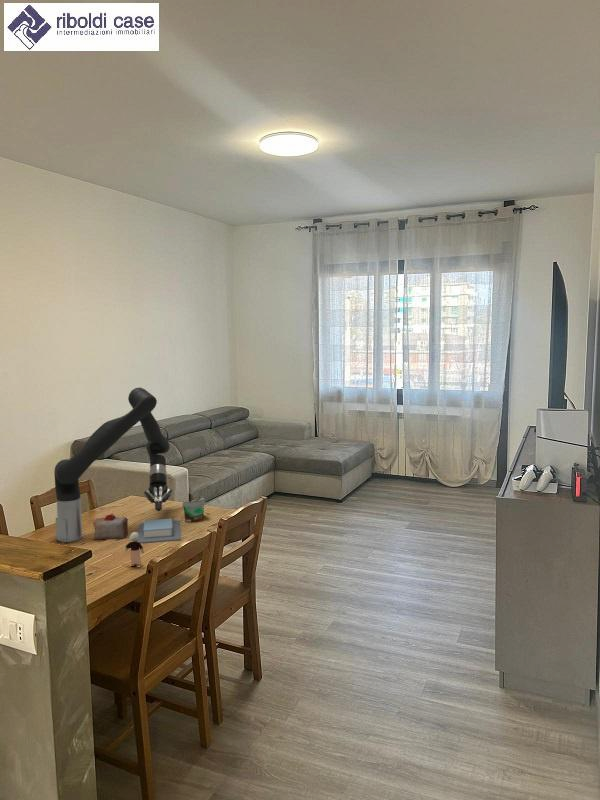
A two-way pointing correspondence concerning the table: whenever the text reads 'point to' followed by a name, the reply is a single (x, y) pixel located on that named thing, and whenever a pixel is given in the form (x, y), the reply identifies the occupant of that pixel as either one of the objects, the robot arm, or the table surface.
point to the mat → (175, 537)
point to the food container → (194, 510)
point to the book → (158, 528)
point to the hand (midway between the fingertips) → (158, 510)
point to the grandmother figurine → (135, 549)
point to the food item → (111, 527)
